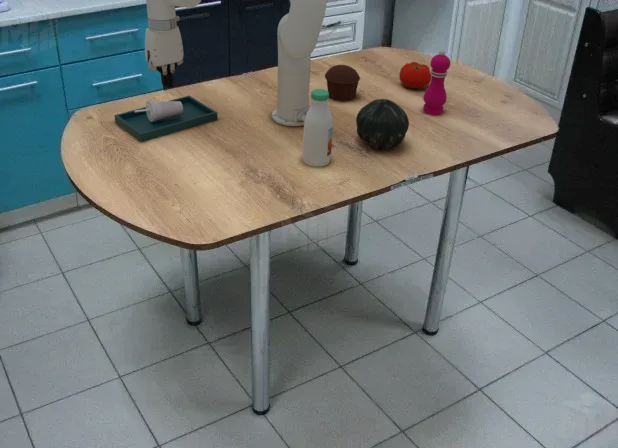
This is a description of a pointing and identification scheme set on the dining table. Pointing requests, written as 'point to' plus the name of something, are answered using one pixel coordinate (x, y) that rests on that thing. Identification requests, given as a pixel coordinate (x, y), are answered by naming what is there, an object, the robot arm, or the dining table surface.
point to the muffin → (342, 82)
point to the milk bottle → (318, 130)
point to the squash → (382, 124)
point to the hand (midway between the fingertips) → (167, 86)
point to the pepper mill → (436, 85)
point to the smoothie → (162, 109)
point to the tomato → (415, 75)
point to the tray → (166, 120)
